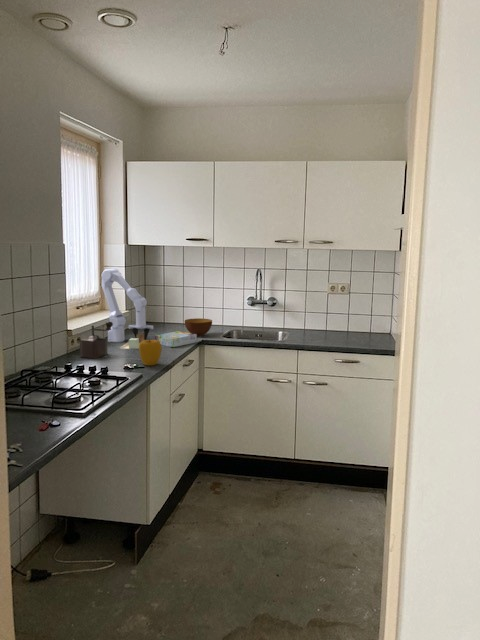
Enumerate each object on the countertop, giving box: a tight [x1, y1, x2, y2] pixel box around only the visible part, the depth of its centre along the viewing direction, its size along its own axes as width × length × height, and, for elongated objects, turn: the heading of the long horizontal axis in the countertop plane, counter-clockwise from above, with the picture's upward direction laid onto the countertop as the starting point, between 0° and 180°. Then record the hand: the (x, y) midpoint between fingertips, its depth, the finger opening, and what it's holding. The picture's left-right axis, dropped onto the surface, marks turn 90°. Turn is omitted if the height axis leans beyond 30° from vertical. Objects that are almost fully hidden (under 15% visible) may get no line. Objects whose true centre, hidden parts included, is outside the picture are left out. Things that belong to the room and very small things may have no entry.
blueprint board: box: [119, 341, 140, 350], centre depth 313 cm, size 17×24×1 cm
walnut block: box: [136, 332, 145, 343], centre depth 319 cm, size 4×4×5 cm
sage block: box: [128, 337, 139, 350], centre depth 303 cm, size 4×4×5 cm
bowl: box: [184, 318, 213, 338], centre depth 345 cm, size 18×18×10 cm
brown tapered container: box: [79, 320, 113, 360], centre depth 286 cm, size 16×11×18 cm
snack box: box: [154, 330, 198, 348], centre depth 319 cm, size 21×6×15 cm
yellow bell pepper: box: [138, 338, 162, 367], centre depth 267 cm, size 11×11×13 cm
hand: (141, 340), depth 319 cm, fingers closed on walnut block, 4 cm apart
